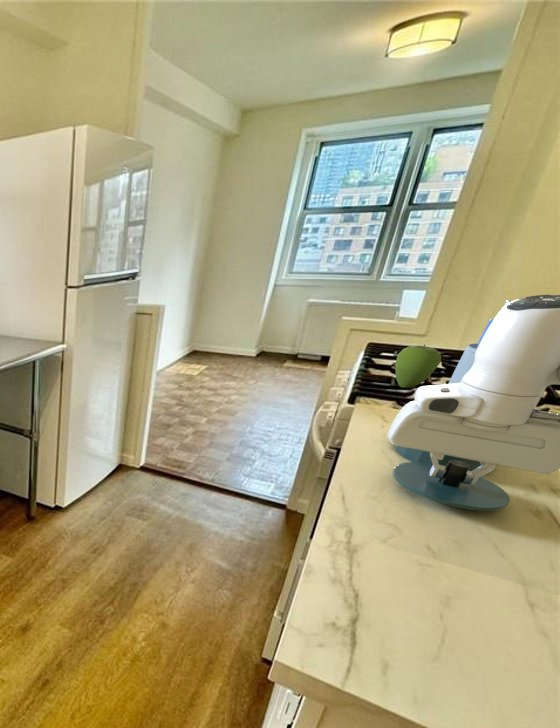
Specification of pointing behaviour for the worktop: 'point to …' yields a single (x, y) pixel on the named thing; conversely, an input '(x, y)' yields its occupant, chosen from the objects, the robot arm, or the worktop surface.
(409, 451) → the pot
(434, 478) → the lid
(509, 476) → the worktop surface
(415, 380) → the green mango
